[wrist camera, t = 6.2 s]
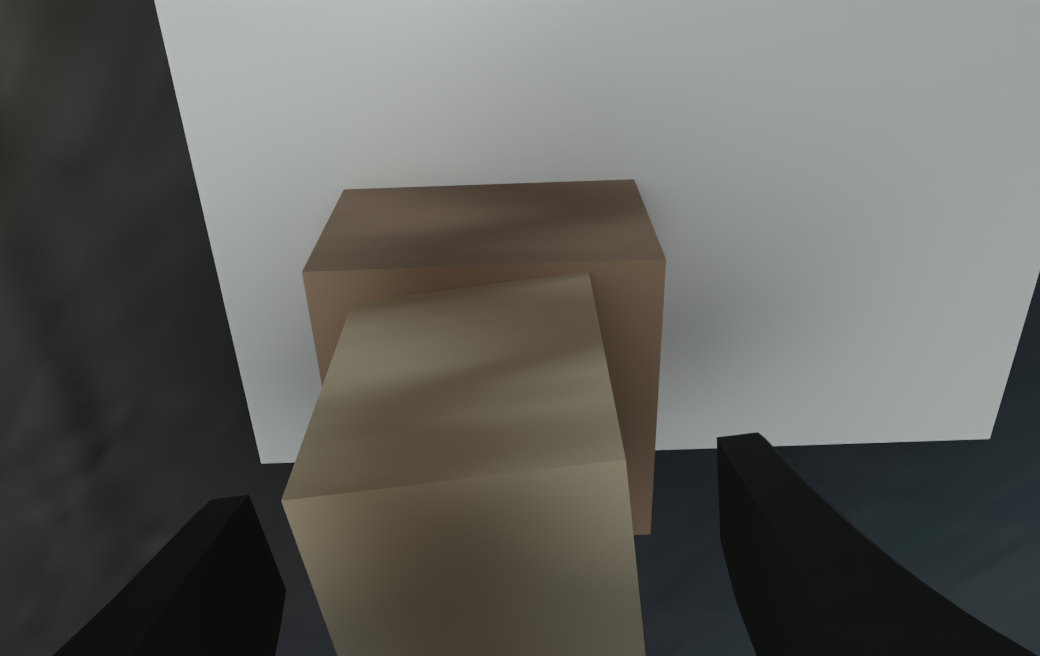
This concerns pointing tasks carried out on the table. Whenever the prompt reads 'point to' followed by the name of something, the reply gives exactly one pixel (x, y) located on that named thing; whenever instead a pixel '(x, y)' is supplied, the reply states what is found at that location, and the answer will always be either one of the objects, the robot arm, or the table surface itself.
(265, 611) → the robot arm
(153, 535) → the table surface
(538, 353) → the maple block
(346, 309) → the walnut block
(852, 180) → the board
